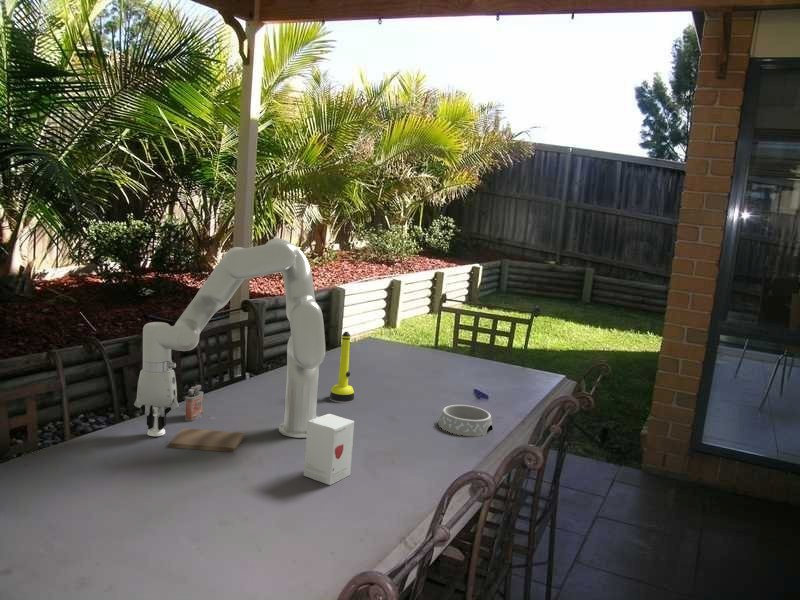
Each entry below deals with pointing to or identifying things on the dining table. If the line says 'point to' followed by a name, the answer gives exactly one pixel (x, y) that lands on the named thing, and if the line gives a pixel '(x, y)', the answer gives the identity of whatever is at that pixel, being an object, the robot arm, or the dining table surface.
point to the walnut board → (207, 440)
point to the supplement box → (328, 448)
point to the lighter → (194, 404)
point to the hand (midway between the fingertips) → (156, 427)
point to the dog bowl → (465, 420)
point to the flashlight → (343, 375)
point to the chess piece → (156, 424)
